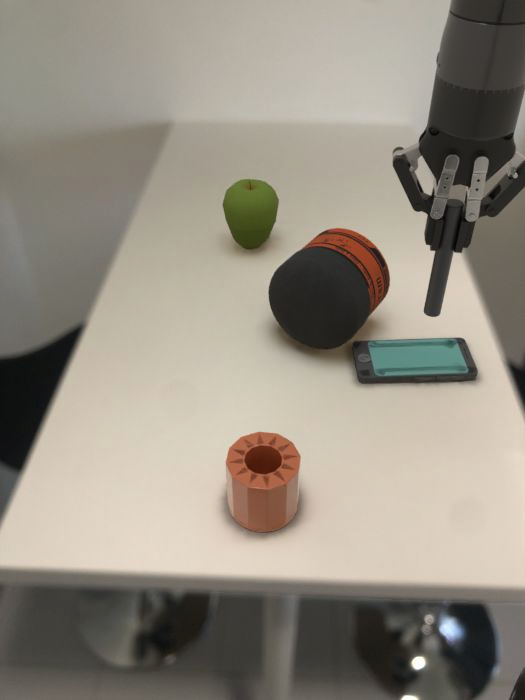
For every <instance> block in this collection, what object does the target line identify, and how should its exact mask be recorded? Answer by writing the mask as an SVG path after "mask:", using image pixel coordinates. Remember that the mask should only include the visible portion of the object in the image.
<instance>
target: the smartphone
mask: <svg viewBox="0 0 525 700" xmlns="http://www.w3.org/2000/svg"><path fill="white" fill-rule="evenodd" d="M351 353H352V358H353V362H354V367H355V368H354V369H355V372H356V375H357V376H356V377H357V381H358V382H359V383H361V384H385V383H387V384H388V383H389V384H390V383H413V382H417V383H419V382H442V381H445V382H446V381H447V382H448V381H471V380H476V379H477V376H478V374H479V373H478V372H479V369H478V368H477V365H476V362H475V360H474V358H473V356H472V353H471V350H470V348H469V346H468V344H467V341H466V340H465V338H463V337H433V338H432V337H431V338H404V339H403V338H402V339H401V338H399V339H372V340H371V339H370V340H354V341H352V343H351Z"/></svg>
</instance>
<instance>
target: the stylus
mask: <svg viewBox="0 0 525 700" xmlns="http://www.w3.org/2000/svg"><path fill="white" fill-rule="evenodd" d="M463 206H464V201H462V200H461V199H458V198H448V199H447V202H446V206H445V210H444V213H443V217H444V222H443V227H442V232H441V237H440V242H439V247H438V251H434V255H433V259H432V265H431V271H430V275H429V280H428V285H427V291H426V296H425V301H424V306H423V313H424V315H425V316H428V317H430V318H437V317H439V316H440V315H441V312H442V308H443V303H444V299H445V295H446V290H447V285H448V280H449V275H450V270H451V267H452V262H453V256H454V254H455V253H454V247H455V242H456V238H457V233H458V229H459V224H460V219H461V216H462V211H463Z"/></svg>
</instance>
